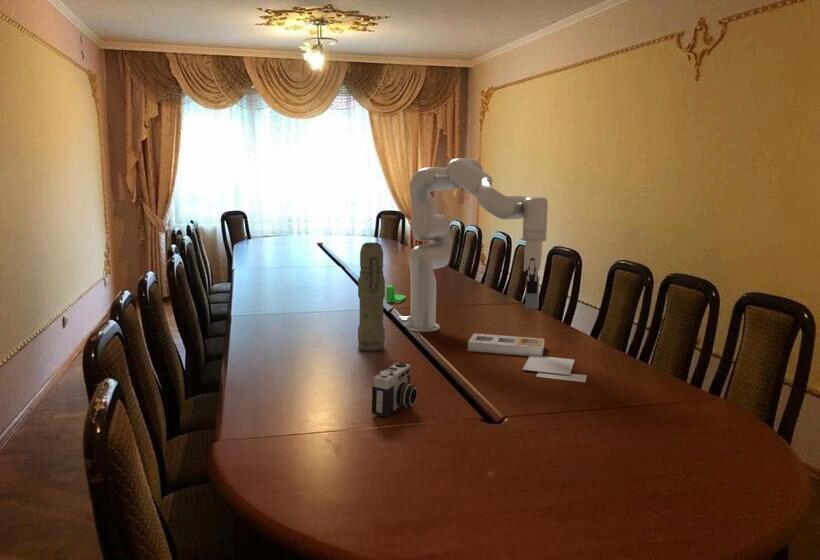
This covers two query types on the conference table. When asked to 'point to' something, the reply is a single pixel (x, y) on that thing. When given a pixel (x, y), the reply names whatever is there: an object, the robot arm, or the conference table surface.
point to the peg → (532, 297)
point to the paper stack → (553, 368)
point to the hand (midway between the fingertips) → (532, 291)
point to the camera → (392, 390)
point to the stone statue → (371, 298)
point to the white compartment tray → (506, 344)
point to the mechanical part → (393, 295)
